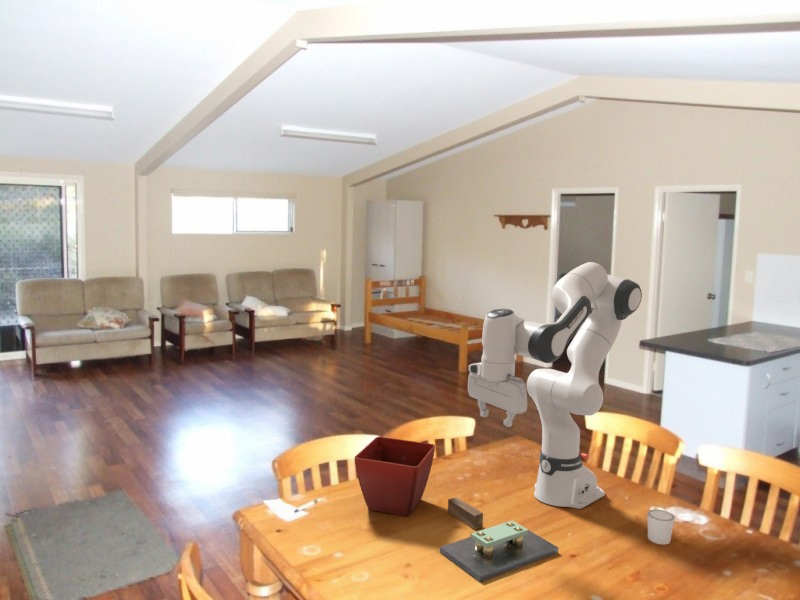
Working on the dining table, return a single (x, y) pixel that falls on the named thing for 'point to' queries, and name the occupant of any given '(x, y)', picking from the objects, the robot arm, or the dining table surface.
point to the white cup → (660, 526)
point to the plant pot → (394, 474)
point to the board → (499, 534)
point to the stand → (465, 513)
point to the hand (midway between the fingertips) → (495, 421)
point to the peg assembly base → (497, 554)
